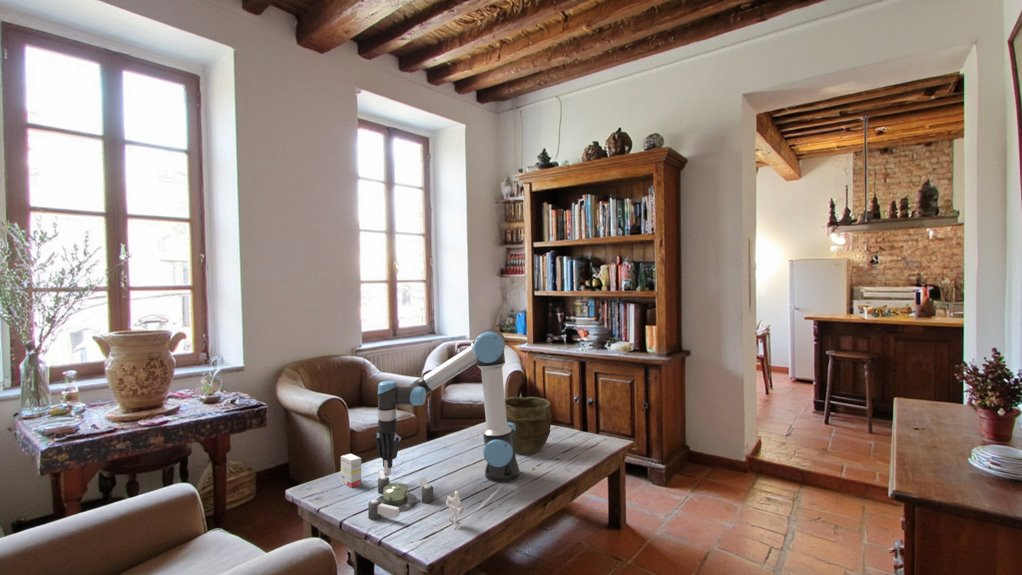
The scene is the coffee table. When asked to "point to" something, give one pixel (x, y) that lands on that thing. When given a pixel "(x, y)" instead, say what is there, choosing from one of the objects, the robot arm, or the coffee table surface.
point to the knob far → (382, 481)
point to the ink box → (350, 470)
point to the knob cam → (381, 510)
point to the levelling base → (398, 496)
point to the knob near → (426, 491)
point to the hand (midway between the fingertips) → (387, 474)
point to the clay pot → (529, 422)
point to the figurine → (454, 508)
